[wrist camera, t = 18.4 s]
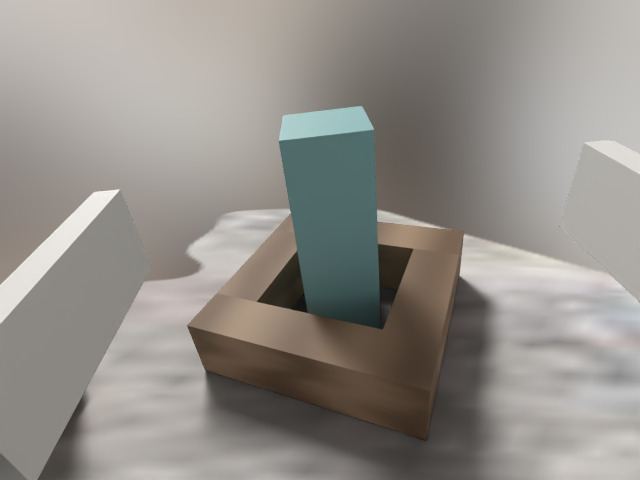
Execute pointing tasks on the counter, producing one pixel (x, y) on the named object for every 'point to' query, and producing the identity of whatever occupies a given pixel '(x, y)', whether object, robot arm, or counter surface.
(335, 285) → the teal peg
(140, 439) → the counter surface
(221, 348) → the block
